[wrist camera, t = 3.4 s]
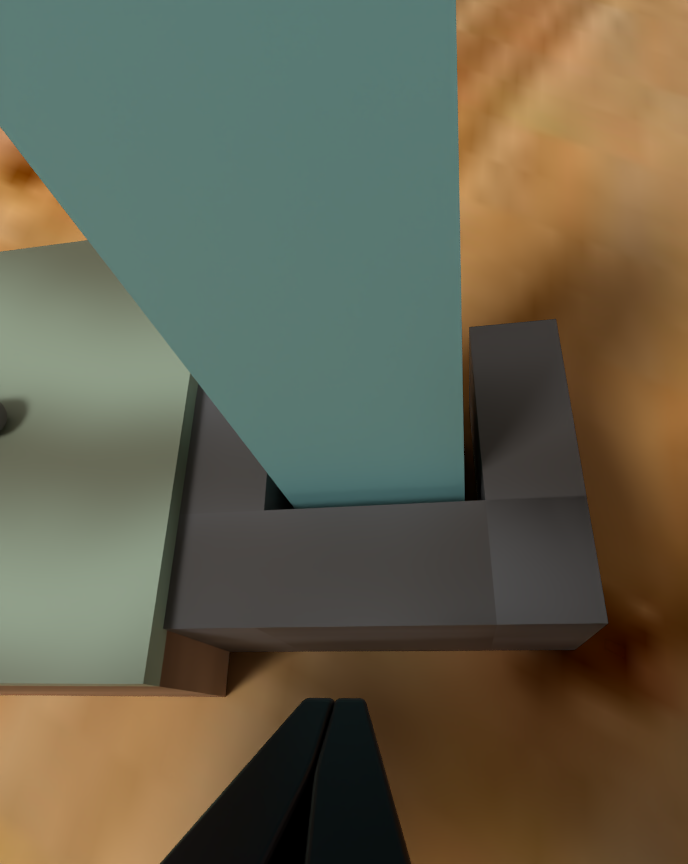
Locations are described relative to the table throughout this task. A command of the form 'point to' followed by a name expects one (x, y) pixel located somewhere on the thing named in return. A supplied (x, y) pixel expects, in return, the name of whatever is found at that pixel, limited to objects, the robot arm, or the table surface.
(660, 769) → the table surface
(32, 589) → the toolbox
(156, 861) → the table surface
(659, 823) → the table surface
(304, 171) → the teal rectangular block
